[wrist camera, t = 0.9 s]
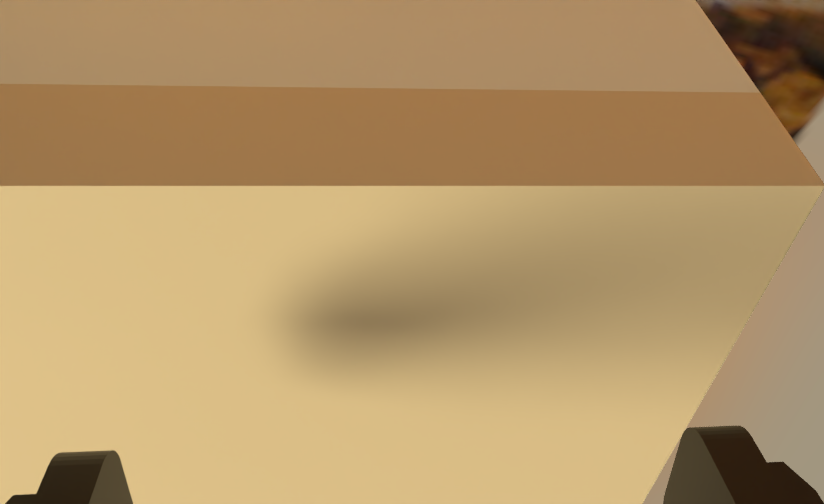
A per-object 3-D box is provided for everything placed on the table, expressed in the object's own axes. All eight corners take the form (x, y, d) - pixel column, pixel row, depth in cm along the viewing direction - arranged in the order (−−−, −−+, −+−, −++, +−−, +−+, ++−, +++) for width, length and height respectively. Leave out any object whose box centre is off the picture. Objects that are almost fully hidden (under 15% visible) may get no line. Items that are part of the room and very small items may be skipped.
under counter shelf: (24, -141, 19) (-248, 186, 10) (612, -119, 20) (825, 186, 11) (125, 217, 27) (24, 563, 19) (535, 215, 29) (622, 538, 20)
